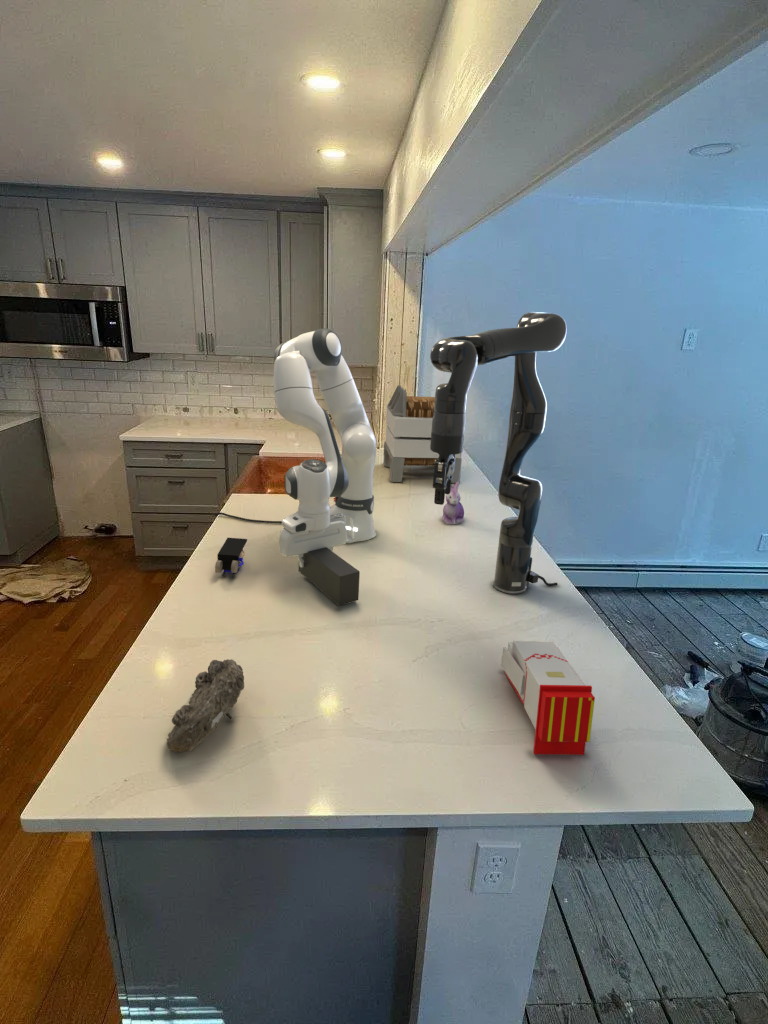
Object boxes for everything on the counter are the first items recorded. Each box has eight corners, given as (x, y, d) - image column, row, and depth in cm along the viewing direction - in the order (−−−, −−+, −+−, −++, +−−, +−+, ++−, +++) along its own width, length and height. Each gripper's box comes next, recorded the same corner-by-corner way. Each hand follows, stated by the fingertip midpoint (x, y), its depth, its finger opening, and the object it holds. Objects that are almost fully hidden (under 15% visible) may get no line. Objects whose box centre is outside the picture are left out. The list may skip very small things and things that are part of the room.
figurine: (449, 526, 208) (453, 487, 203) (434, 517, 216) (437, 480, 211) (470, 523, 212) (474, 485, 207) (455, 514, 221) (458, 477, 216)
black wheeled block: (238, 584, 162) (249, 557, 175) (236, 562, 158) (247, 536, 172) (215, 584, 161) (227, 556, 175) (212, 561, 158) (225, 535, 171)
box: (298, 571, 165) (298, 544, 162) (316, 566, 169) (316, 540, 166) (339, 606, 148) (340, 576, 145) (358, 600, 151) (359, 571, 148)
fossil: (192, 660, 117) (244, 628, 112) (224, 691, 120) (276, 661, 115) (142, 746, 98) (202, 712, 93) (182, 779, 101) (242, 748, 96)
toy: (549, 624, 127) (604, 693, 98) (544, 678, 130) (596, 762, 100) (496, 622, 127) (535, 692, 97) (491, 677, 129) (528, 761, 100)
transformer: (382, 463, 289) (386, 382, 275) (445, 464, 293) (451, 384, 279) (390, 482, 257) (394, 392, 243) (460, 483, 261) (468, 394, 247)
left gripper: (340, 509, 166) (339, 552, 171) (276, 521, 155) (277, 567, 160) (351, 515, 161) (350, 559, 166) (286, 528, 150) (287, 575, 155)
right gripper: (459, 438, 121) (453, 510, 127) (468, 427, 134) (462, 492, 140) (425, 435, 123) (420, 505, 129) (437, 424, 136) (432, 488, 142)
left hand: (314, 563), depth 163 cm, fingers closed on box, 6 cm apart
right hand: (442, 498), depth 134 cm, fingers open, 8 cm apart
